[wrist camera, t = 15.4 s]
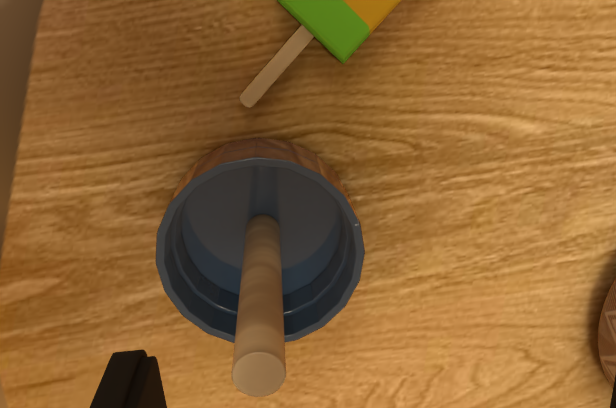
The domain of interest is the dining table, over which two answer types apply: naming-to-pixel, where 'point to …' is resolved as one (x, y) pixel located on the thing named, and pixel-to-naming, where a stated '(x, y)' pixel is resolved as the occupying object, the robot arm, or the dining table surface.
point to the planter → (608, 335)
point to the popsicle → (321, 34)
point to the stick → (260, 312)
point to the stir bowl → (232, 228)
